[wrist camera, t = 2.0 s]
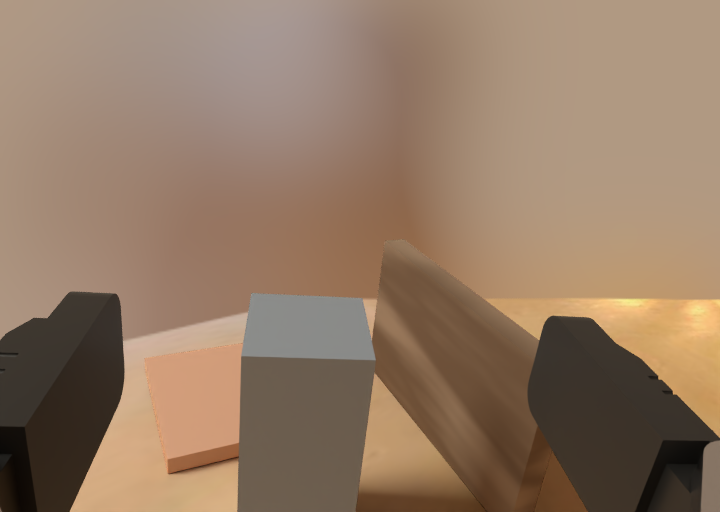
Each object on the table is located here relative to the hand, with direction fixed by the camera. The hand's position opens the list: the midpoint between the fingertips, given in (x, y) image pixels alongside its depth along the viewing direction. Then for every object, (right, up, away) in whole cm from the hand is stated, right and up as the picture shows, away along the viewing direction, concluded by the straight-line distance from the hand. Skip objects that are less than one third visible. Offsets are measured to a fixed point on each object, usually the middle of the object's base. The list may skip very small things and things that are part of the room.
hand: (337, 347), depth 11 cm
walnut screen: (+5, -9, +25) cm, 28 cm away
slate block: (-3, -12, +17) cm, 21 cm away
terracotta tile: (-8, -8, +26) cm, 28 cm away
